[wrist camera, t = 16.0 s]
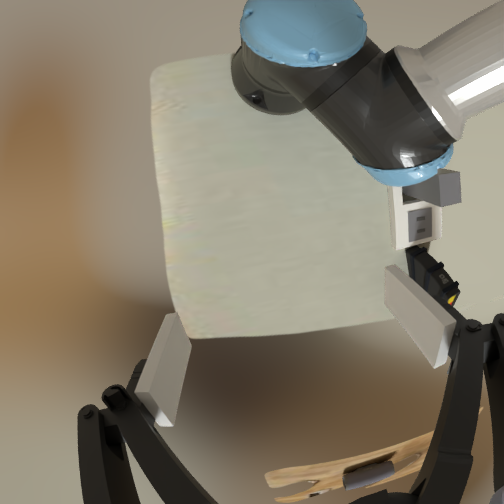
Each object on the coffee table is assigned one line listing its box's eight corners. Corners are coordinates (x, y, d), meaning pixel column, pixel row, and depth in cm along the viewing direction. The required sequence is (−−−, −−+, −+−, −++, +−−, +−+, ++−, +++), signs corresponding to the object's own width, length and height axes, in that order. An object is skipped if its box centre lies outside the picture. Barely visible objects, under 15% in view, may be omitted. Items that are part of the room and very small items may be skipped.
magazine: (419, 231, 46) (462, 288, 36) (413, 270, 55) (445, 321, 45) (404, 238, 47) (447, 298, 36) (400, 277, 56) (432, 330, 45)
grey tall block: (399, 168, 44) (438, 175, 32) (420, 165, 43) (459, 171, 32) (403, 193, 45) (440, 207, 34) (422, 190, 45) (461, 202, 34)
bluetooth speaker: (341, 477, 88) (345, 493, 78) (342, 470, 84) (347, 488, 75) (386, 462, 87) (392, 478, 77) (390, 455, 83) (396, 471, 74)
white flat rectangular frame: (382, 148, 42) (388, 148, 40) (430, 144, 42) (437, 144, 40) (391, 246, 49) (397, 250, 47) (436, 235, 48) (442, 238, 46)
